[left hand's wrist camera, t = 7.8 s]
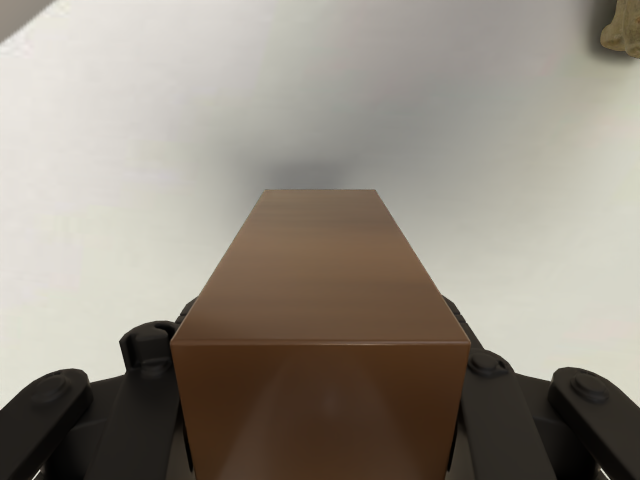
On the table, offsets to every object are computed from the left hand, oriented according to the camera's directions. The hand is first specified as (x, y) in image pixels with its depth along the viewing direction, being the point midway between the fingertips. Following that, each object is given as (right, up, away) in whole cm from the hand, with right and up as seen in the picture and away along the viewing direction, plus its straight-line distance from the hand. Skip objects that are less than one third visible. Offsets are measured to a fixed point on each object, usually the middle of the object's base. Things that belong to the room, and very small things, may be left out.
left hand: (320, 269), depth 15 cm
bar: (0, -9, +4) cm, 10 cm away
